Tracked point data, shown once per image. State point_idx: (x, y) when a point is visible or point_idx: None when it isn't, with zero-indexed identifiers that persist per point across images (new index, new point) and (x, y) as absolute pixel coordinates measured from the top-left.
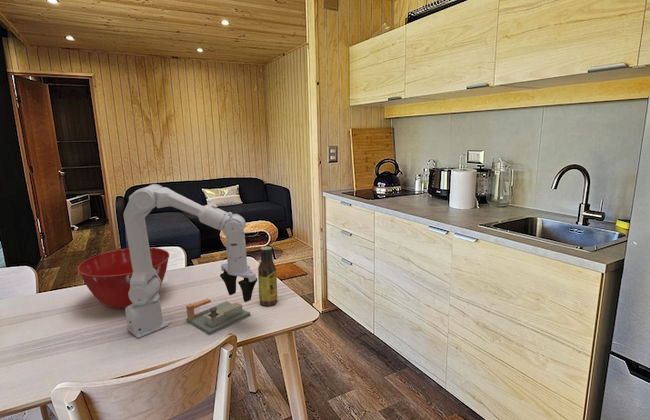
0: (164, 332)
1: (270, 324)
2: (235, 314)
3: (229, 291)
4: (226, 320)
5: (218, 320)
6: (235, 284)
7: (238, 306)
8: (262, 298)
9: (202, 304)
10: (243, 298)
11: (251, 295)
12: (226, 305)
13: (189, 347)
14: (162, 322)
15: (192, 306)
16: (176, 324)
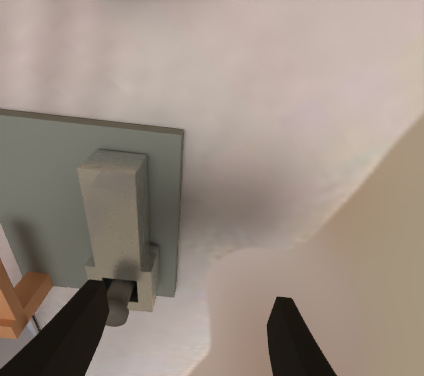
0: None
1: (334, 137)
2: (146, 195)
3: (97, 344)
4: (152, 232)
5: (155, 278)
6: (62, 349)
7: (135, 197)
8: None
9: (7, 286)
10: (272, 357)
11: (309, 331)
12: (11, 146)
13: (185, 331)
14: None
15: (15, 325)
16: None
